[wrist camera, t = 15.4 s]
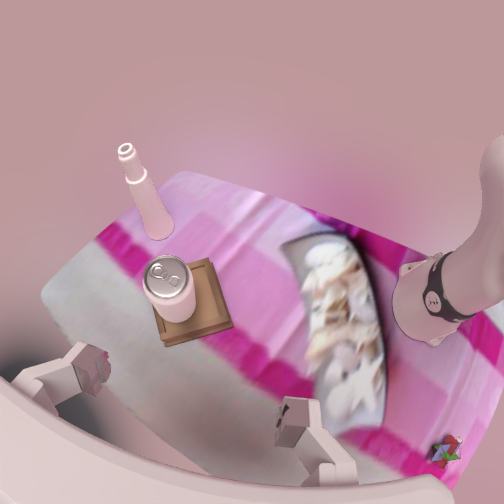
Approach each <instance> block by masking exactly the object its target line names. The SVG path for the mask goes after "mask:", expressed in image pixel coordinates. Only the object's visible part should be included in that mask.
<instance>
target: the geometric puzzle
mask: <svg viewBox="0 0 504 504" xmlns="http://www.w3.org/2000/svg"><path fill="white" fill-rule="evenodd" d="M446 437H447V436H446ZM456 437H457V439H458V441H459V442H458V441H457V440H456V439H454V438H453V436H451V435H450V434H449V436H448V438H447V440H446V442H445V443H444V444H442V445H432V446H434V447H435V448H436V449H437V452H436V453H435V455H434V456H433V458H432V459H431V461H436V463H437V464H438V465H439V466H440V467H441V469H442V470H443V469H444V467H445V465H446V464H448V463H449V462H448V461H449V460H455V459H461V458H459V457H458V456H457V455H456V454H455V453H456V451H457V449H458V448H459V446H460V444H461V443H462V442H463V441H462V439H460V437H459V436H456ZM443 439H444V438H443ZM440 441H441V440H440ZM444 441H445V440H444ZM444 441H443V442H444ZM460 442H461V443H460ZM432 448H433V447H432ZM433 453H434V450H433ZM460 457H461V456H460ZM447 462H448V463H447ZM432 463H433V462H432ZM435 465H436V464H435ZM439 466H438V467H439ZM447 467H448V466H447Z"/></svg>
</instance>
